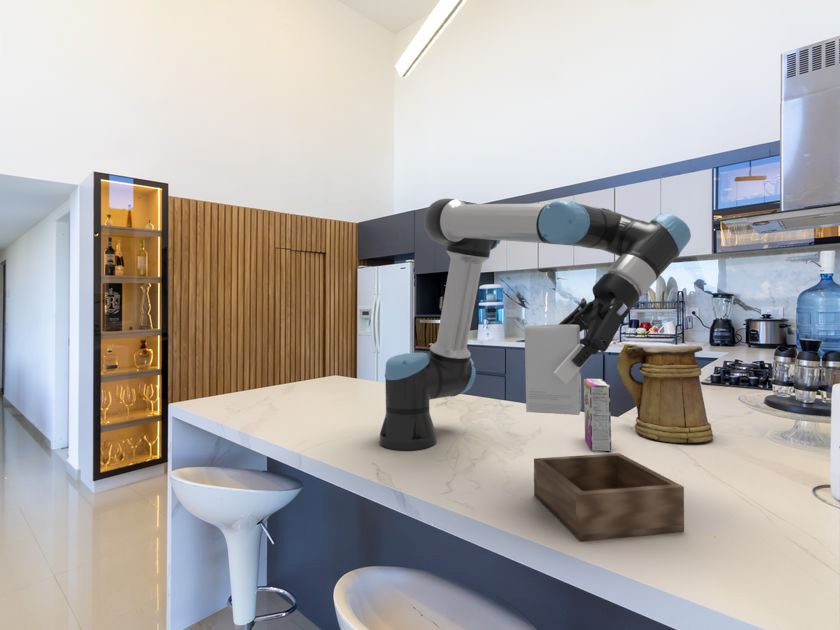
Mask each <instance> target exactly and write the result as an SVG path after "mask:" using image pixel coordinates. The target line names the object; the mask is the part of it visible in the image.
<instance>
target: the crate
mask: <svg viewBox="0 0 840 630" xmlns="http://www.w3.org/2000/svg"><path fill="white" fill-rule="evenodd" d="M533 490H534V491H533V497H534V498H536V499H537V500H538V502H540V503H541V504H542V505H543V506H544V507H545V508H546V509H547V510H548V511H549V512H550V513H551V514H552V515H553V516H554V517H555V518H556V519H557V520H558V521H559V522H560V523H561V524H562V525H563V526H564V527H565V528H566V529H567V530H568V531H569V532H570V533H571V534H573V536H574V537H576V539H577V540H578V542H587V541H597V540H606V539H607V540H608V539H618V538H628V537H639V536H650V535H660V534H661V535H662V534H670V533H682V532H685V486H683V485H681V484H679V483H677V482H676V481H674V480H671V478H668V477H666V476H664V475H662V474H660V473H658V472H657V471H654V470H653V469H650V468H648V467H647V466H646V465H645V466H644V465H643V464H641V463H640V462H637V461H635V460H633V459H631V458H629V457H628V456H626V455H624V454H622V453H619V452H615V453H602V454H601V453H600V454H583V455H570V456H569V455H568V456H567V455H566V456H553V457H539V458H537V457H536V458H533Z"/></svg>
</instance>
